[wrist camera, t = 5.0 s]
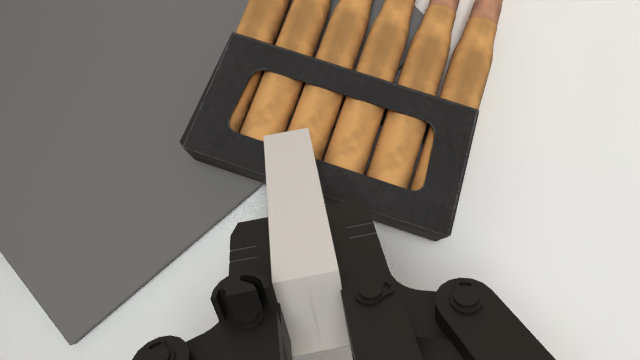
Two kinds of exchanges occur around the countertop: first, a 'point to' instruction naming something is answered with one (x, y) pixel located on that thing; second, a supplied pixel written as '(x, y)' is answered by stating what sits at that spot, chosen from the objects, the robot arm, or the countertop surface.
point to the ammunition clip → (353, 101)
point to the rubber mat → (110, 144)
